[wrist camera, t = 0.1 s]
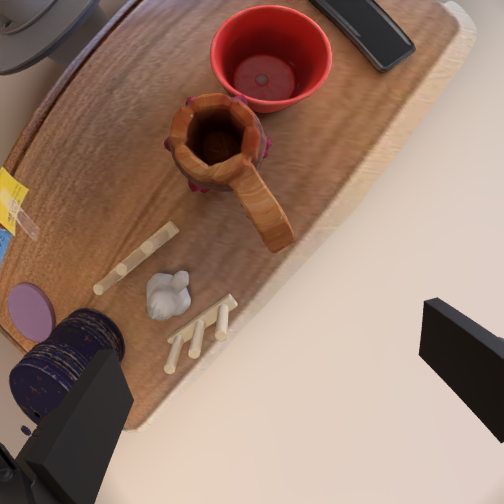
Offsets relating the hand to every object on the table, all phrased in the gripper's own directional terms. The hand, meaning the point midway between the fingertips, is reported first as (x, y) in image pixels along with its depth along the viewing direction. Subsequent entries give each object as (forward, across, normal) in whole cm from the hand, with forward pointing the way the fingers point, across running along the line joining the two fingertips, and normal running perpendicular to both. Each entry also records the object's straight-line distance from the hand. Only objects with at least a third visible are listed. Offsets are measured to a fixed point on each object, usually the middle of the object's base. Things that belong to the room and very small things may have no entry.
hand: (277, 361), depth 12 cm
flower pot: (+25, +4, +18) cm, 31 cm away
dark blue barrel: (+25, -23, -10) cm, 36 cm away
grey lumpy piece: (+25, -10, -4) cm, 27 cm away
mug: (+25, 0, +8) cm, 27 cm away
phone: (+25, +18, +27) cm, 42 cm away
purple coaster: (+25, -33, -5) cm, 42 cm away
